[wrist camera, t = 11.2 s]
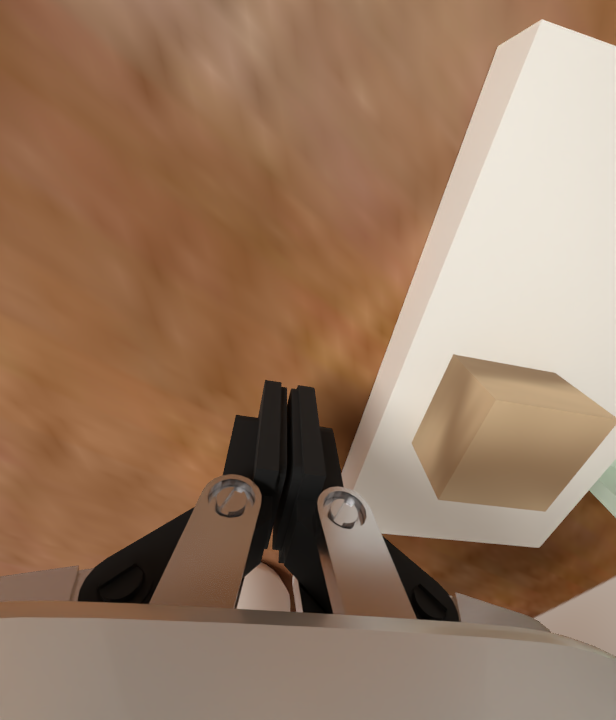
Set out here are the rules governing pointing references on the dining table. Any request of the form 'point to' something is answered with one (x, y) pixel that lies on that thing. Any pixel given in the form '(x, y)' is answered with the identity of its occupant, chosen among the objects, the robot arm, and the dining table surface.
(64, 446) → the dining table surface
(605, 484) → the tray
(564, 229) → the board
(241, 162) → the dining table surface
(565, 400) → the tan block
